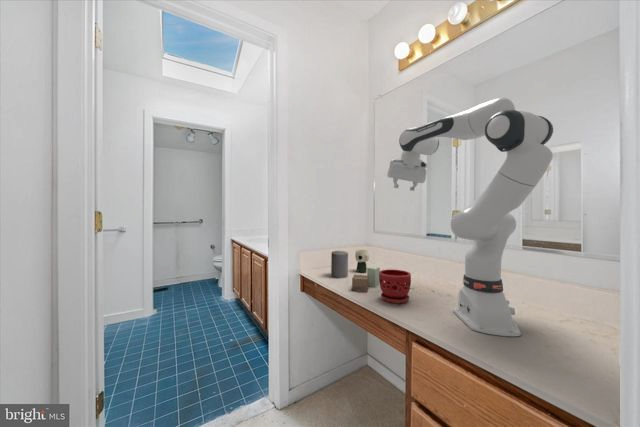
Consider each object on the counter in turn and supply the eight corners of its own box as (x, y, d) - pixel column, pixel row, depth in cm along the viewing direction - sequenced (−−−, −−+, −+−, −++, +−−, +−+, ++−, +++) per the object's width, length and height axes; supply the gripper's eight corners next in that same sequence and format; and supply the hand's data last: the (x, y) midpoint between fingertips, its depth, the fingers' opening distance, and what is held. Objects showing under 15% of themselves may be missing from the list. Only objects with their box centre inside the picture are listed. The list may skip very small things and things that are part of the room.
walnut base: (367, 292, 118) (367, 279, 118) (352, 290, 120) (352, 278, 120) (368, 287, 125) (368, 275, 124) (354, 286, 126) (354, 274, 126)
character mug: (351, 270, 157) (351, 249, 157) (359, 269, 161) (359, 248, 161) (363, 274, 148) (364, 252, 148) (372, 272, 152) (372, 251, 152)
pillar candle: (328, 274, 148) (328, 249, 147) (342, 272, 152) (342, 248, 151) (336, 279, 139) (336, 252, 138) (351, 277, 143) (351, 250, 143)
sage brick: (371, 283, 131) (371, 266, 131) (379, 285, 128) (379, 267, 128) (367, 285, 128) (367, 267, 128) (375, 287, 125) (375, 269, 125)
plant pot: (417, 301, 106) (417, 273, 106) (395, 308, 99) (396, 277, 99) (393, 292, 117) (393, 266, 117) (372, 297, 111) (372, 270, 110)
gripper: (394, 157, 120) (389, 186, 121) (430, 165, 126) (424, 192, 127) (387, 158, 126) (382, 186, 127) (422, 165, 132) (416, 191, 133)
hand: (404, 189), depth 127 cm, fingers open, 8 cm apart
